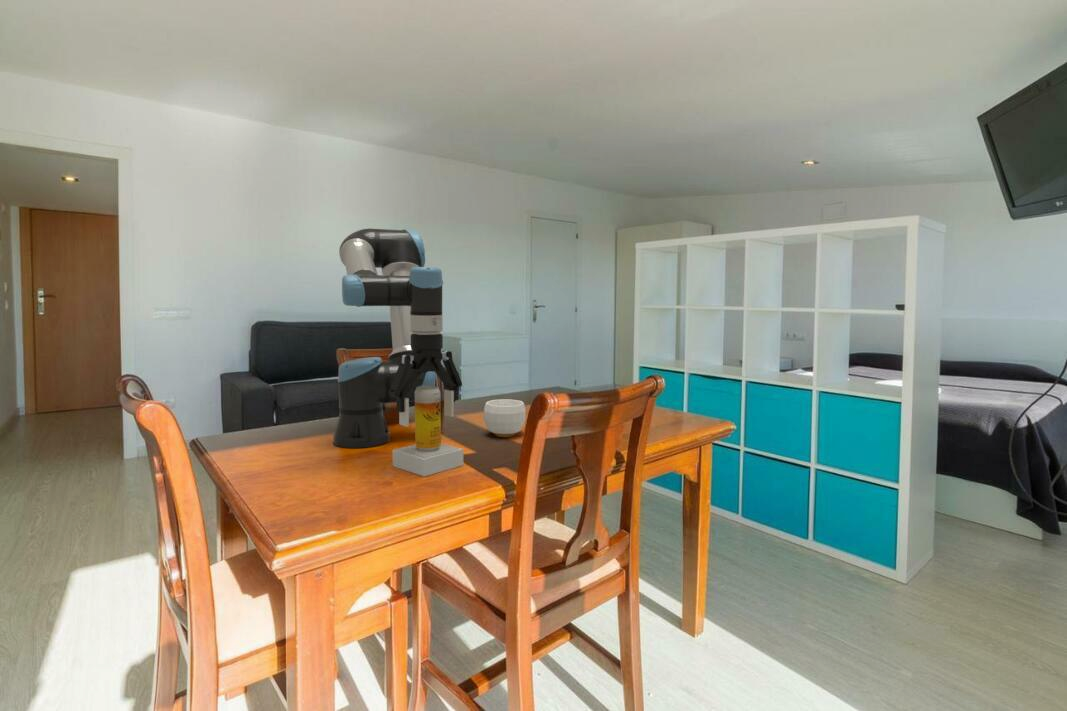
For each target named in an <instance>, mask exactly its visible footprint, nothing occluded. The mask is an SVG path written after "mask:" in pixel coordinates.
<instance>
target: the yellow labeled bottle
mask: <svg viewBox="0 0 1067 711" xmlns="http://www.w3.org/2000/svg"><path fill="white" fill-rule="evenodd" d="M441 403H442V402H441V389H440V388H439V386H437V385H435V386H419V387H416V390H415V402H414V434H415V435H414V436H415V442H414V445H415V446H416V447H417V448H418V450H420V451H434V450H437V449H439V447H440V446H441V443H442V426H441V425H442V421H441V420H442V419H441V418H442V416H441V410H442V409H441V407H442V406H441V405H442V404H441Z"/></svg>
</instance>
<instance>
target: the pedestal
mask: <svg viewBox="0 0 1067 711" xmlns="http://www.w3.org/2000/svg"><path fill="white" fill-rule="evenodd" d="M463 466H464V449H463V448H459V447H456V446H453V445H449V444H445V443H442V442H441V446H440V447H439V449H437V450H434V451H420V450H418V448H417V447H416V446H415V444H412V445H408V446H403V447H400V448H395V449H392V467H394V468H398V469H400V470H404V471H406V472H409V473H412V474H415V475H418V476H422V477H424V478H425V477H428V476H430V475H435V474H438V473H441V472H445V471H448V470H451V469H455V468H459V467H463Z"/></svg>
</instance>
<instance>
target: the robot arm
mask: <svg viewBox="0 0 1067 711" xmlns="http://www.w3.org/2000/svg"><path fill="white" fill-rule="evenodd" d="M425 250H426V248H425V245H424V241H423V238H422V236H421V234H420V233H419V232H417V231H415V230H408V229H382V228H364V229H363V228H362V229H358V230H356V231H354V232H352V233H350V234H349V235H348V236H346V237H345V238H344V239H343V241H342V242H341V244H340V246H339V250H338V251H339V253H338V254H339V257H340V258H339V259H340V261H341V263H342V265H343V266H344V267H345V269H346V274H345V275H343V276H342V278H341V295H342V296H341V297H342V303H343V305H345V306H347V307H349V306H351V307H357V308H358V307H389V314H390V315H389V317H390V329H391V330H390V331H391V341H392V342H391V345H392V352H391V353H390V354H389V355H387V356H388V357H387V361H386V362H385V361H384V362H383V360H382V357H379V356H371V357H370V356H369V357H362V358H356V359H351V360H347V361H345V362H343V363H341V364H340V365H339V367H338V375H337V376H338V379H337V383H338V408H339V410H338V412H339V416H338V419H337V422H336V426H335V430H334V432H333V437H332V438H333V444H334V445H335V446H337V447H341V448H349V449H352V448H353V449H355V448H356V449H357V448H358V449H359V448H361V449H362V448H371V447H376V446H380V445H383V444H386V443H388V442H389V441H390V430H389V427H388V424H387V421H386V419H385V416H384V413H383V410H384V409H383V404H393V403H394V404H395V403H396V411H397V413H399V414H398V415H399V418H398V419H399V420H398V422H399V425H400V426H403V427H406V428H407V427H410V403H415V390H416V387H419V386H436V378H437V376H438V378H439V379H440V381H441V382H442V384H443V385H444V387H446V388H447V389H444V391H443V393H444V394H443V396H444V398H443V399H444V401H443V402H444V403H443V404H444V405H443V406H444V407H443V408H444V410H443V412H444V416H446V417H451V418H453V417H454V416H455V407H454V406H455V405H454V404H455V403H456V391H459V389H460V388H461V387H462V386H463V382H462V380H461V377H460V375H459V372H458V370H457V368H456V365H455V363H454V360H453V353H452V351H450V350H442V349H443V344H444V343H443V342H444V337H443V334H442V333H441V332H442V331H443V284H444V281H443V272H442V268H439V267H431V266H428V267H427V266H425V264H426V255H425V254H426V251H425ZM380 268H381V275H380V274H378V271H377V269H380ZM441 361H442V363H443V364H442V363H441ZM436 375H437V376H436Z"/></svg>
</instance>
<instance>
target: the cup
mask: <svg viewBox="0 0 1067 711" xmlns="http://www.w3.org/2000/svg"><path fill="white" fill-rule="evenodd" d="M526 412H527V410H526V406H525V403H524V402H523V401H522V400H518V399H511V398H510V399H507V398H506V399H505V398H502V399H500V398H499V399H492V400H488V401H486V402H485V405H484V407H483V420H484V423H485V427H486V428H487V429H488V431H489V432H490V433H493V434H494V435H495V436H496V437H501V438H509V437H510V438H511V437H513V436H515V434H517V433H519V432H520V431H521V430H522V428H523V427H524V425H525V421H526V419H527V418H526Z"/></svg>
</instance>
